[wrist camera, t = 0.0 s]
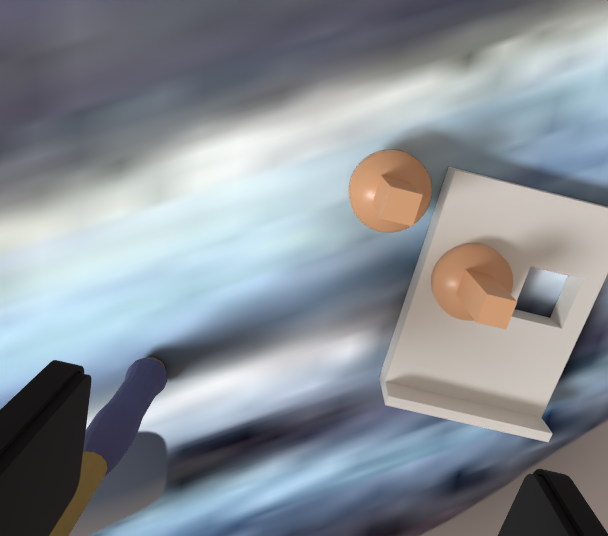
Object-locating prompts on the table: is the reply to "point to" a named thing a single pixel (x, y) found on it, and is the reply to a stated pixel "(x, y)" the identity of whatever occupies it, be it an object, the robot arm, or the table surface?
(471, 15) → the table surface
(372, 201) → the dome with square post
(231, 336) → the table surface
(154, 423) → the table surface
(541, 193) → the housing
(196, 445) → the table surface
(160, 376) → the rubber mallet
